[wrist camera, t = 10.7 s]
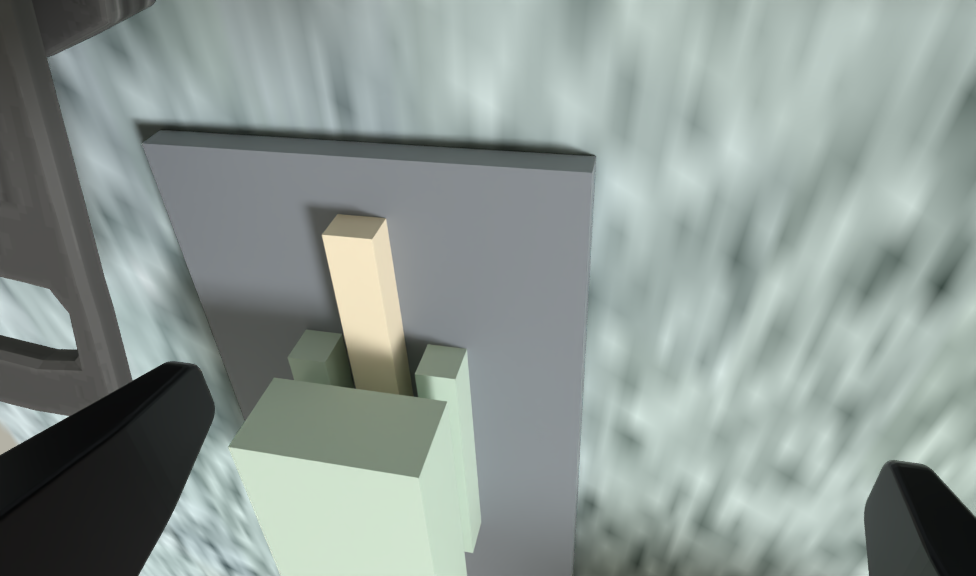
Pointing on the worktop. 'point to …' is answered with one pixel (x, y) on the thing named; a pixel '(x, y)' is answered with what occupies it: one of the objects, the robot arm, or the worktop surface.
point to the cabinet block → (363, 467)
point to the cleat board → (407, 293)
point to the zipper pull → (52, 210)
